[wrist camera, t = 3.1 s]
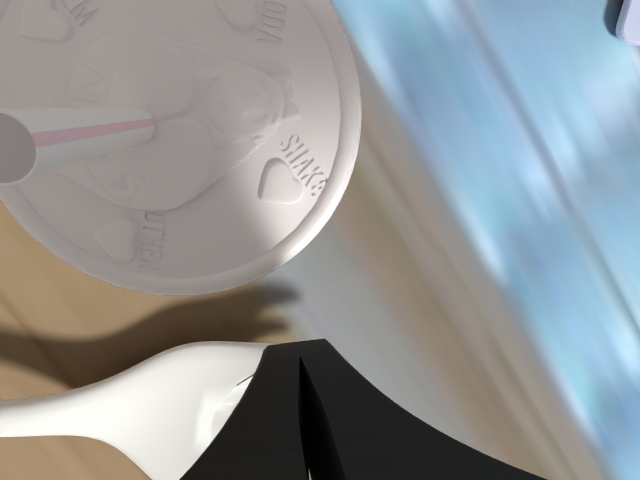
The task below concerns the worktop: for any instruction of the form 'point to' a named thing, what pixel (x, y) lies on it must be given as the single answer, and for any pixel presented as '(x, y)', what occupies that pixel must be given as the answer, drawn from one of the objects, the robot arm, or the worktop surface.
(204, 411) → the white plastic utensil
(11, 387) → the worktop surface
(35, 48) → the smoothie
